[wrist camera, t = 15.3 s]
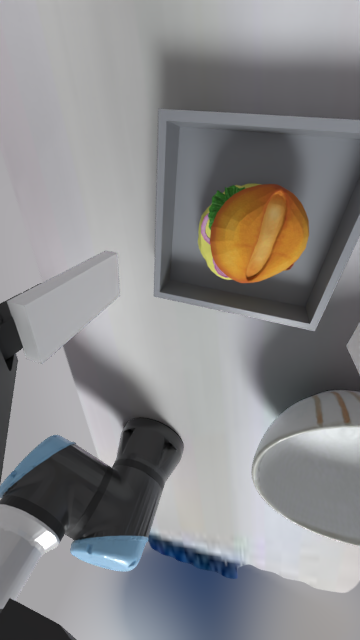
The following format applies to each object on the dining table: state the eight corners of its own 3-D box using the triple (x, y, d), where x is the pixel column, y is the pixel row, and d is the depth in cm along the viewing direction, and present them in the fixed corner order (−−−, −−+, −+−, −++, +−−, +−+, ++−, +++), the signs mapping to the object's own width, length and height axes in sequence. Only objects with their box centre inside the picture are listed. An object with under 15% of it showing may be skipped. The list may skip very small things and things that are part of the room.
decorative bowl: (350, 315, 31) (389, 383, 22) (504, 428, 33) (605, 539, 23) (224, 408, 47) (213, 472, 37) (334, 482, 49) (351, 562, 39)
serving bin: (308, 310, 33) (314, 331, 28) (166, 281, 36) (153, 296, 32) (386, 130, 22) (413, 122, 18) (175, 117, 26) (158, 108, 22)
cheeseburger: (185, 202, 29) (180, 204, 20) (277, 166, 27) (316, 150, 18) (209, 280, 33) (214, 310, 24) (291, 254, 31) (329, 277, 22)
